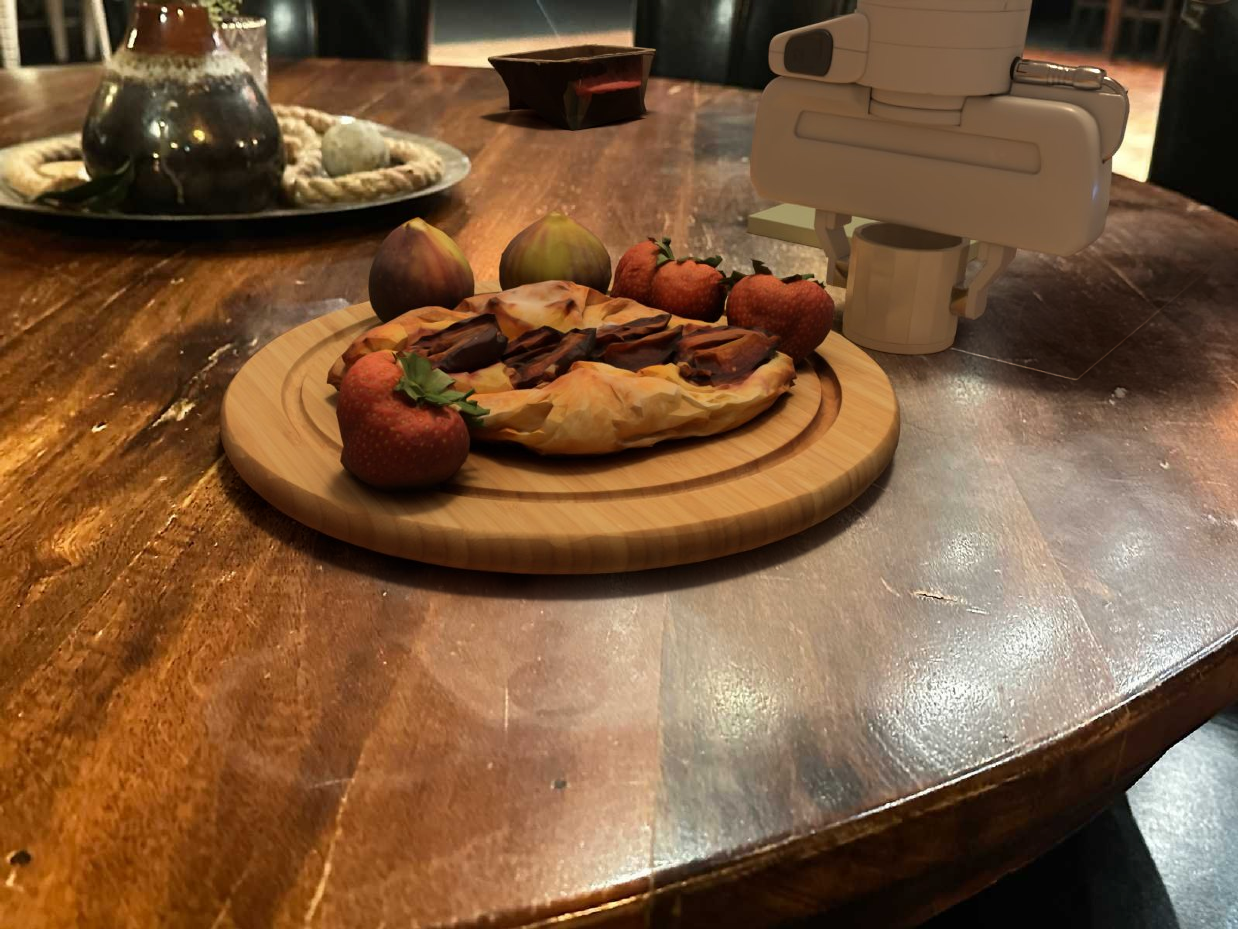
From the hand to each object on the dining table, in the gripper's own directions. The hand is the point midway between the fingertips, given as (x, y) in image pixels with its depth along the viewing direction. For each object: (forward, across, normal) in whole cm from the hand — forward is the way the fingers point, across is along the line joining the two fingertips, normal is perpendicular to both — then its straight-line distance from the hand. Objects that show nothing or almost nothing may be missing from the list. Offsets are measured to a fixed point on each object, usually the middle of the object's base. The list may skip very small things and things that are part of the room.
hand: (901, 299), depth 67 cm
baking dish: (+2, +61, -42) cm, 74 cm away
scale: (+2, +11, -20) cm, 23 cm away
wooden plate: (+2, +7, +22) cm, 23 cm away
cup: (+2, 0, 0) cm, 2 cm away
